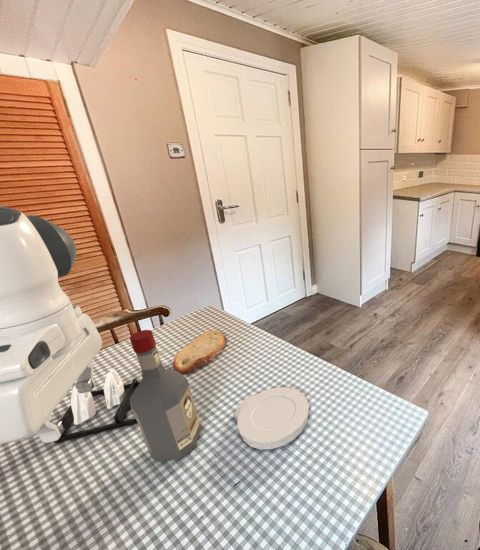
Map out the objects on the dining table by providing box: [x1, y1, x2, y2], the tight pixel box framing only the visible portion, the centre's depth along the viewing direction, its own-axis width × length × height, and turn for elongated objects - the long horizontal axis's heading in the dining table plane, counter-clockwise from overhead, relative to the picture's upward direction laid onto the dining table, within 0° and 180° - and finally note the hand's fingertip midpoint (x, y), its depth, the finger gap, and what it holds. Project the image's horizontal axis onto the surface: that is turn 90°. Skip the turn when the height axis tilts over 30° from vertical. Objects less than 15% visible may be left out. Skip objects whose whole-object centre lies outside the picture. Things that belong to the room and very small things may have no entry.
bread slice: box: [172, 330, 226, 375], centre depth 102 cm, size 18×18×4 cm
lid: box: [233, 386, 310, 450], centre depth 77 cm, size 17×20×3 cm
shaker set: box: [70, 368, 126, 426], centre depth 78 cm, size 12×4×11 cm, turn 153°
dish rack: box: [53, 378, 140, 444], centre depth 80 cm, size 19×16×3 cm
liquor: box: [129, 329, 203, 463], centre depth 65 cm, size 9×9×30 cm
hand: (72, 411), depth 45 cm, fingers open, 8 cm apart
